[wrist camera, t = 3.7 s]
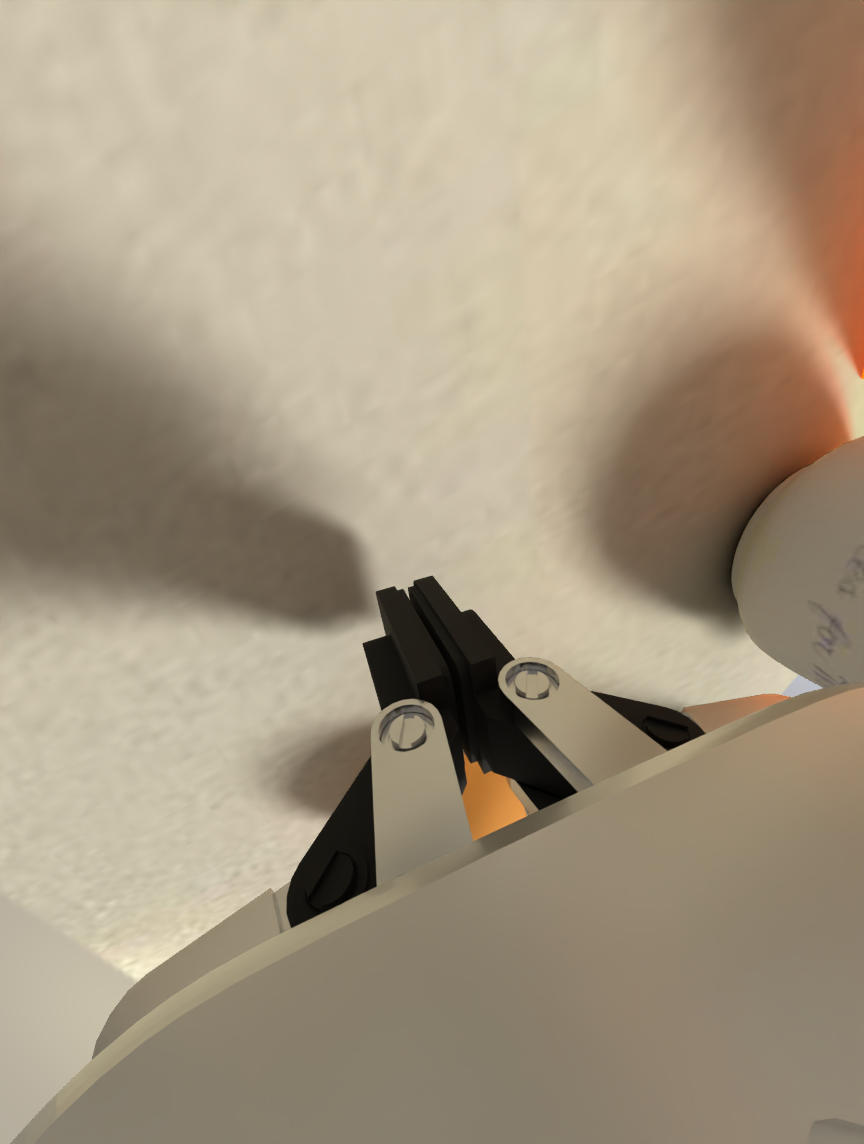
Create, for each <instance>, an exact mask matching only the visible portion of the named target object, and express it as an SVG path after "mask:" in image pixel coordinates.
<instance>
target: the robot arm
mask: <svg viewBox="0 0 864 1144" xmlns="http://www.w3.org/2000/svg"><path fill="white" fill-rule="evenodd" d="M408 592H409V598H410V600H409V598H408V596H407V595H406V593H405V591H404V590H403V589H401V590H398V591H397V590H396V588H395V586H394V587H390V588H386V589H383V590H379V591H376V596H377V600H378V605H379V609H380V613H381V617H382V621H383V625H384V630H385V634H386V636H384V637H381V638H378V639H374V640H371V641H368V642H365V643H363V647H364V651H365V654H366V658H367V661H368V665H369V669H370V672H371V676H372V679H373V683H374V686H375V690H376V693H377V697H378V700H379V704H380V707H381V711H382V712H381V713H380V714H379V715H378V716H377V717H376V719H375V721H374V723H373V725H372V728H371V735H370V737H371V757H370V758H369V760H368V761H367V763H366V764H365V766H364V767H363V769H362V770H361V772H360V773H359V775H358V776H357V778H356V779H355V781H354V782H353V784H352V785H351V787H350V788H349V790H348V791H347V793H346V794H345V796H344V797H343V799H342V800H341V802H340V803H339V805H338V806H337V808H336V809H335V811H334V812H333V814H332V815H331V817H330V818H329V820H328V821H327V823H326V824H325V826H324V827H323V829H322V830H321V832H320V833H319V835H318V836H317V838H316V839H315V841H314V842H313V844H312V845H311V847H310V848H309V850H308V851H307V853H306V854H305V856H304V857H303V859H302V860H301V862H300V863H299V865H298V867H297V869H296V871H295V873H294V875H293V877H292V879H291V881H290V882H289V883H287V884H286V885H284V886H283V887H282V888H280V889H279V890H277V891H276V892H275V893H273V891H272V890H271V888H270V889H268V890H267V891H265V892H264V893H263V894H261V895H260V896H258V897H257V898H255V899H254V900H253V901H251V902H250V903H248V904H247V905H245V906H244V907H242V908H241V909H240V910H238V911H237V912H235V913H234V914H232V915H231V916H230V917H228V918H227V919H225V920H224V921H222V922H221V923H220V924H218V925H217V926H215V927H214V928H212V929H211V930H209V931H208V932H207V933H205V934H204V935H202V936H201V937H199V938H198V939H197V940H195V941H194V942H192V943H191V944H189V945H188V946H187V947H185V948H184V949H182V950H181V951H179V952H178V953H176V954H175V955H174V956H172V957H171V958H169V959H168V960H166V961H165V962H164V963H162V964H161V965H159V966H158V967H156V968H155V969H154V970H152V971H151V972H149V973H148V974H147V975H145V976H144V977H143V978H142V979H141V980H140V981H139V982H138V983H136V984H135V985H134V986H133V987H132V988H131V989H130V990H129V991H128V992H127V993H126V994H125V996H124V997H123V998H122V1000H121V1001H120V1002H119V1003H118V1005H117V1006H116V1007H115V1009H114V1010H113V1011H112V1013H111V1014H110V1016H109V1018H108V1020H107V1022H106V1024H105V1026H104V1028H103V1030H102V1031H101V1034H100V1036H99V1037H98V1039H97V1042H96V1045H95V1049H94V1053H93V1057H92V1060H91V1061H90V1062H89V1063H88V1064H87V1065H86V1066H85V1067H84V1068H83V1069H82V1070H81V1071H80V1072H79V1073H78V1074H77V1075H76V1076H75V1077H74V1078H73V1079H72V1080H71V1081H70V1082H69V1083H68V1084H67V1085H66V1086H64V1087H63V1089H61V1090H60V1091H59V1092H58V1093H57V1094H56V1095H55V1096H54V1097H53V1098H52V1099H51V1100H50V1101H49V1102H48V1103H47V1104H46V1105H45V1107H44V1108H42V1110H41V1111H40V1112H39V1113H38V1114H37V1115H36V1116H35V1117H34V1118H33V1119H32V1120H31V1121H30V1122H29V1123H28V1125H27V1126H26V1127H25V1128H24V1129H23V1130H22V1131H21V1133H19V1134H18V1136H17V1137H16V1138H15V1139H14V1140H13V1141H12V1143H10V1144H864V682H857V683H850V684H843V685H836V686H831V687H826V688H823V689H818V690H814V691H811V692H806V693H803V694H800V695H798V696H795V697H792V698H791V697H787V696H783V695H778V694H762V695H756V696H750V697H744V698H738V699H732V700H726V701H720V702H714V703H708V704H702V705H696V706H690V707H684V708H683V712H682V713H679V712H678V711H675V710H672V709H669V708H666V707H662V706H657V705H653V704H648V703H644V702H639V701H635V700H630V699H626V698H621V697H616V696H612V695H607V694H603V693H598V692H594V691H589V690H588V689H587V688H585V687H584V686H583V685H581V684H580V683H579V682H578V681H576V680H575V679H574V678H572V677H571V676H570V675H568V674H567V673H566V672H565V671H563V670H562V669H561V668H559V667H558V666H557V665H555V664H553V663H551V662H550V661H547V660H544V659H541V658H532V657H527V658H519V659H516V660H515V659H514V657H513V656H512V655H511V654H510V653H509V652H508V650H507V649H506V648H505V647H504V646H503V644H502V643H501V642H500V641H499V640H498V639H497V637H496V636H495V635H494V634H493V633H492V631H491V630H490V629H489V628H488V627H487V626H486V624H485V623H484V622H483V621H482V620H481V618H480V617H479V616H478V615H477V614H476V613H475V612H474V611H473V610H467V611H464V612H461V611H460V610H459V609H458V608H457V606H456V605H455V604H454V602H453V601H452V600H451V599H450V597H449V596H448V595H447V593H446V592H445V591H444V590H443V588H442V587H441V586H440V585H439V583H438V582H437V581H436V579H435V578H434V577H433V576H429V577H425V578H422V579H418V580H415V581H414V586H412V587H408ZM463 750H464V752H465V754H466V756H467V758H468V760H469V762H470V763H471V764H472V763H474V762H478V764H479V766H480V767H481V769H482V771H483V773H484V774H486V773H488V772H490V771H492V772H493V773H496V774H499V775H502V776H505V777H506V780H507V783H508V785H509V787H510V788H511V790H512V791H513V793H514V794H515V795H516V797H517V798H518V799H519V801H520V802H521V803H522V805H523V806H524V807H525V808H526V810H527V811H528V812H529V814H530V815H529V816H526V817H524V818H522V819H520V820H518V821H516V822H514V823H511V824H509V825H507V826H505V827H503V828H501V829H498V830H496V831H494V832H492V833H490V834H488V835H486V836H484V837H481V838H479V839H477V840H475V841H473V838H472V834H471V830H470V826H469V822H468V819H467V815H466V811H465V807H464V803H463V799H462V795H463V792H464V790H465V788H466V785H467V779H466V772H465V761H464V754H463Z"/></svg>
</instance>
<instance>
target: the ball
mask: <svg viewBox="0 0 864 1144" xmlns="http://www.w3.org/2000/svg"><path fill="white" fill-rule="evenodd" d="M464 761H465V772H466V779H467V785H466V788H465V790H464V792H463V795H462V799H463V803H464V807H465V811H466V815H467V819H468V822H469V826H470V830H471V834H472V838H473V841H475V840H477V839H479V838H481V837H484V836H486V835H488V834H490V833H492V832H494V831H496V830H498V829H501V828H503V827H505V826H507V825H509V824H511V823H514V822H516V821H518V820H520V819H522V818H524V817H526V816H527V814H526V811H525V809H524V806H523V805H522V803H521V802H520V801H519V799H518V798H517V797H516V795H515V794H514V793H513V791H512V790H511V788H510V787H509V785H508V783H507V780H506V777H505V776H502V775H499V774H496V773H493V772H492V771H490V772H488V773H486V774H484V773H483V771H482V769H481V767H480V766H479V764H478V762H474V763H472V764H471V763H470V762H469V760H468V758H467V756H466V754H464Z"/></svg>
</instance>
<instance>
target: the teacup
mask: <svg viewBox="0 0 864 1144" xmlns="http://www.w3.org/2000/svg"><path fill="white" fill-rule="evenodd" d="M731 580H732V588H733V593H734V596H735V598H736V600H737V601H738V609H739V613H740V617H741V621H742V623H743V625H744V627H745V630H746V632H747V633H748V635H749V636H750V638H751V639H752V640H753V642H754V643H755V644H756V645H757V646H758V647H759V648H760V649H761V650H762V651H764V652H765V653H766V654H768V655H769V656H770V657H771V658H773V659H774V660H776V661H777V662H779V663H781V664H782V665H784V666H785V667H787V668H789V669H790V670H792V671H794V672H795V673H797V674H799V675H801V676H803V677H804V678H806V679H808V680H810V681H812V682H813V683H815V684H817V685H819V686H821V687H823V688H826V687H831V686H836V685H843V684H850V683H857V682H864V436H862V437H860V438H857V439H855V440H853V441H850V442H848V443H845V444H843V445H841V446H839V447H837V448H836V449H834V450H832V451H830V452H829V453H827V454H826V455H824V456H823V457H821V458H820V459H818V460H817V461H815V462H814V463H813V464H811V465H809V466H807V467H804V468H802V469H801V470H799V471H797V472H796V473H794V474H793V475H791V476H790V477H788V478H787V479H786V480H785V481H783V482H782V483H781V484H780V485H779V486H777V487H776V488H775V489H774V490H773V491H772V492H771V493H770V494H769V495H768V496H767V497H766V499H765V500H764V501H763V502H762V504H761V505H760V506H759V507H758V509H757V510H756V511H755V513H754V514H753V516H752V517H751V519H750V521H749V523H748V524H747V526H746V528H745V530H744V532H743V534H742V537H741V539H740V541H739V544H738V546H737V549H736V552H735V556H734V561H733V565H732V574H731Z"/></svg>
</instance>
